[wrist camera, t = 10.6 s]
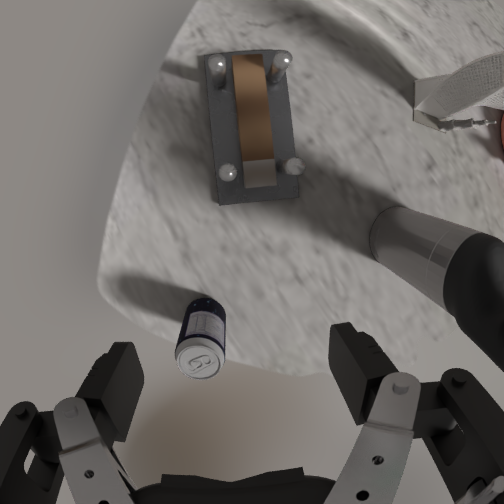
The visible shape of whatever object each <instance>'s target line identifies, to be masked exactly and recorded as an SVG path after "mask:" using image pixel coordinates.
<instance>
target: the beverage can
mask: <svg viewBox="0 0 504 504" xmlns="http://www.w3.org/2000/svg"><path fill="white" fill-rule="evenodd" d="M225 330H226V314H225V310H224V308H223V307H222V306H221V304H219V303H218V302H217V301H215V300H213V299H209V298H200V299H196V300H194V301H193V302H191V303H190V304H189V306H188V307H187V310H186V313H185V316H184V320H183V324H182V327H181V331H180V334H179V338H178V342H177V345H176V349H175V359H176V361H177V366H178V368H179V370H180V371H181V372H182V373H183V374H184V375H186V376H187V377H189V378H192V379H195V380H207V379H210V378H213V377H214V376H216V375H217V373H219V371H220V369H221V368H222V366H223V365H224V362H225Z"/></svg>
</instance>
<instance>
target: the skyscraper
mask: <svg viewBox="0 0 504 504" xmlns="http://www.w3.org/2000/svg"><path fill="white" fill-rule="evenodd" d="M473 106H487V107H492V108H496V109H501V110H504V51H502V52H498V53H494V54H490V55H487V56H484V57H481V58H479V59H477V60H474V61H472V62H470V63H468V64H466V65H464V66H463V67H461V68H460V69H458V70H456V71H455V72H453V73H452V74H449V75H441V76H435V77H429V78H424V79H419V80H414V113H413V121H415V122H418V123H420V124H423V125H426V126H428V127H431V128H433V129H436V130H438V131H441V132H443V133H446V131H449V130H456V131H458V130H460V129H465V128H474V129H476V128H477V126H480V125H487V126H488V124H491V123H496V121H488V120H482V121H476V120H475V119H474V118H471V119H468V120H454V119H453V120H451V121H446V118H447V117H449V116H452V115H455V114H457V113H460V112H462V111H464V110H467V109H469V108H471V107H473Z"/></svg>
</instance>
